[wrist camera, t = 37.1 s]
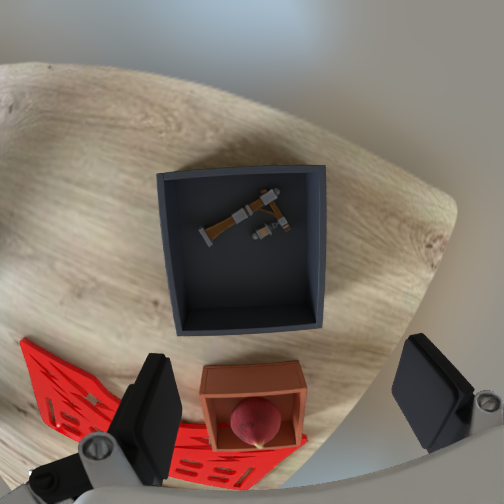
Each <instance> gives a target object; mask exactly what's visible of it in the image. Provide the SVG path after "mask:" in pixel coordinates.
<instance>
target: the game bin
mask: <svg viewBox="0 0 504 504" xmlns="http://www.w3.org/2000/svg"><path fill="white" fill-rule="evenodd" d="M156 176H157V191H158V203H159V214H160V225H161V234H162V243H163V251H164V259H165V267H166V274H167V281H168V287H169V294H170V300H171V306H172V312H173V318H174V323H175V329H176V334H177V336H217V335H241V334H258V333H273V332H286V331H297V330H307V329H317V328H322V324H323V309H324V292H325V269H326V165H270V166H244V167H226V168H211V169H198V170H187V171H176V172H167V173H158V174H156ZM274 188H278V189H279V190H280V194H279V195H278V196H277V198H276V199H274V200H273V201H274V203H275V204H276V206H277V208H278V209H279V211H280V212H281V214H282V216H284V217H285V219H286V221H287V222H288V223H287V224H288V225H289V227H290V229H291V230H289V231H287V232H285V231H284V229H283V228H282V226H281V225H280V224H277V227H276V225H275V224H274V225H275V227H276V228H275V229H274V228H273V230H271V233H272V235H271V234H268V235H266V236H265V237H263V238H262V240H261V239H260V238H259V237H258V239H253V238H252V234H253V233H257V232H256V231H255V229H259V228H261V227H263V226H264V223H265V224H267V225H269V224H270V225H271V223H277V222H278V221H277V218H276V217H275V216H274V215H272V214H269V213H267V212H264V211H262V210H257V211H254V212H252V213H253V214H252V215H251V216H250V214H249V215H248V216H247V217H248V218H245V219H243V220H242V221H240V222H239V223H238V224H237V223H235V224H233V225H232V226H230V227H229V228H227V229H226V230H225V231H223V232H222V233H221V234H219V235H218V236H217V237H216V238H214V239H213V245H211V246H210V247H209V246H208V244H207V243H206V241H205V239H204V238H203V236H202V235H201V233H200V231H199V228H200V227H202V226H203V225H204V226H205V228H206V227H209V226H211V225H214V224H216V223H218V222H220V221H222V220H224V219H226V218H228V217H229V216H231V214H232V213H234V212H236V211H237V210H239V209H240V208H241V207H242V208H244V207H245V206H244V205H246V204H247V205H249V204H250V203H252V202H253V201H255V200H256V199H258V198H259V196H260V195H262V194H261V192H260V190H261V189H266V191H268V190H269V189H272V190H273V189H274ZM260 208H262V209H265V210H268V211H270V212H273V211H272V209H271V207H270V206H269V204H267V205H266V206H265V205H263V206H261V207H260ZM273 213H274V212H273Z"/></svg>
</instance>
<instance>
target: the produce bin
mask: <svg viewBox="0 0 504 504" xmlns="http://www.w3.org/2000/svg"><path fill="white" fill-rule="evenodd" d="M306 394H307V386H306V382H305V379H304V376H303V372H302V369H301V366H300V363H299V361H289V362H278V363H265V364H249V365H227V366H203V372H202V378H201V384H200V390H199V397H200V401H201V406H202V410H203V414H204V418H205V423H206V427H207V431H208V435H209V438H210V442H211V446H212V450H213V451H215V452H217V451H255V450H269V449H280V448H289V447H298V446H301V439H302V431H303V422H304V414H305V404H306ZM252 396H258V397H263V398H266V399H268V400H270V401H271V402H272V403H273V404H274V405H276V406H277V408H278V410H279V413H280V415H281V424H280V428H279V431H278V432H277V434H276V435H275V436H274V438H273V439H272V440H270V441H269V442H267V443H265V444H264V448H263V449H259V448H257V447H256V446H254V445H250V444H248V443H245V442H244V441H243V440H241V439H240V438H239V437H238V436H237V435H236V434H235V433H234V432H233V430H232V428H231V412H232V410H233V409H234V407H235V406H236V405H237V404H238V403H239V402H240V401H242V400H244V399H245V398H248V397H252ZM222 423H224V424H230V427H218V424H222Z"/></svg>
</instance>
